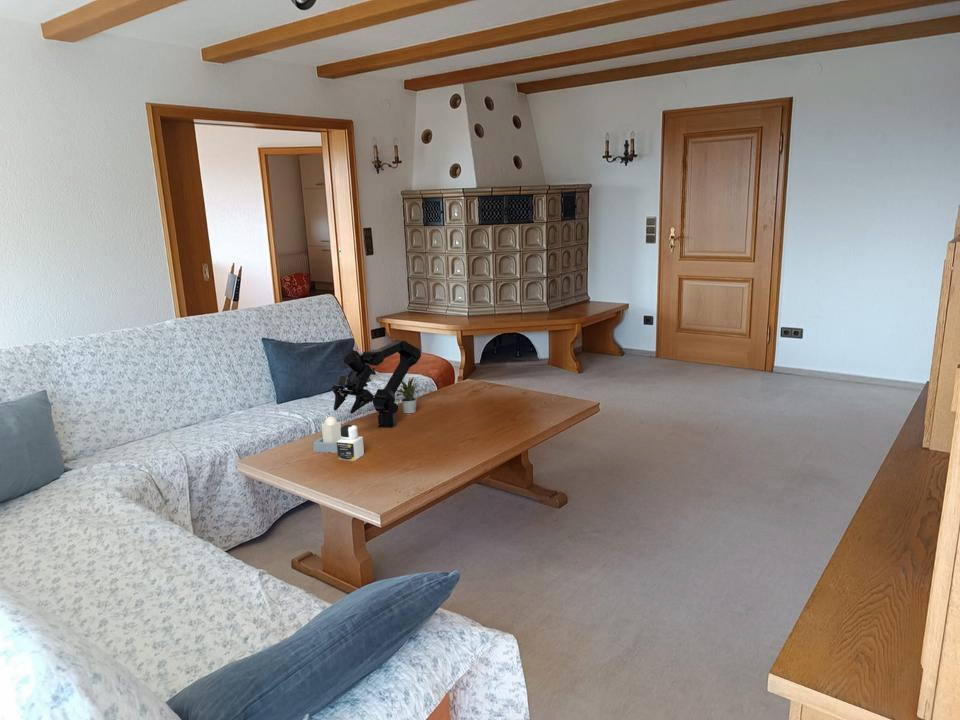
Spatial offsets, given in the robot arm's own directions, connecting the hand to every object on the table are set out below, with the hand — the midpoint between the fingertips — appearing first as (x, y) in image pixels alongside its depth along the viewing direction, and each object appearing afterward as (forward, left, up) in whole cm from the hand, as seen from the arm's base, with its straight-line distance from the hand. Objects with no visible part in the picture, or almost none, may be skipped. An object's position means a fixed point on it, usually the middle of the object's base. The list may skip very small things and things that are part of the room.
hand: (342, 411), depth 258 cm
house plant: (-12, -43, -13) cm, 47 cm away
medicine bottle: (-9, +15, -13) cm, 22 cm away
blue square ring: (+2, +6, -13) cm, 14 cm away
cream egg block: (+2, +6, -13) cm, 14 cm away
